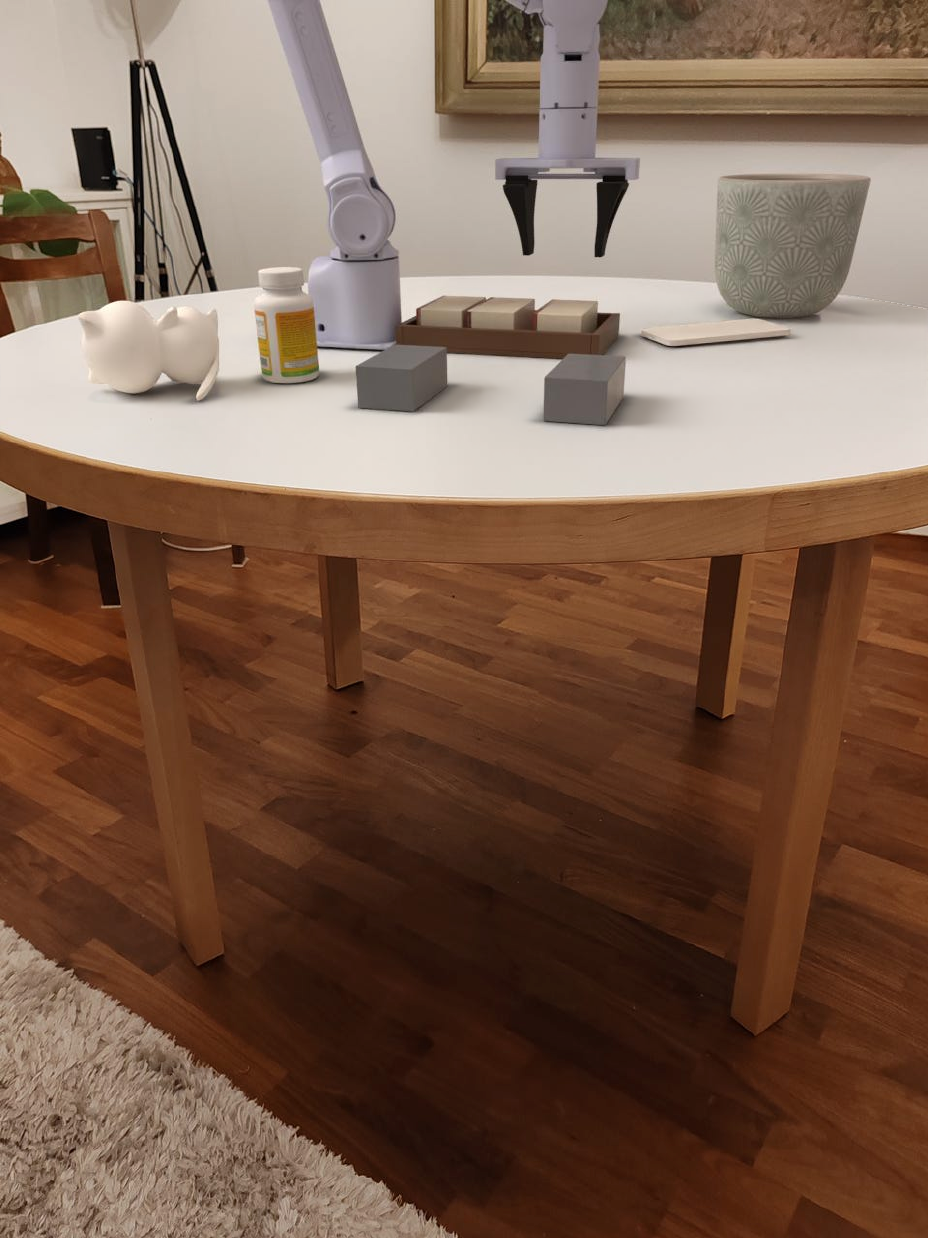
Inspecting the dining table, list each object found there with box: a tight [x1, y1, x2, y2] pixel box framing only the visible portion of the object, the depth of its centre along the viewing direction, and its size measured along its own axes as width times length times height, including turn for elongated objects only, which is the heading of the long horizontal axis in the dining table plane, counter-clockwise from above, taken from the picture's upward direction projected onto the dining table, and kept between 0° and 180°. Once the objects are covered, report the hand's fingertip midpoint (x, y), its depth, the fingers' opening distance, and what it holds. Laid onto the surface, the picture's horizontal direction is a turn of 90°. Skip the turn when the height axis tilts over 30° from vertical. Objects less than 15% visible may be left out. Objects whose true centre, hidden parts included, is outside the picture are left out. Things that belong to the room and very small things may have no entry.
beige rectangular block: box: [532, 298, 599, 333], centre depth 100 cm, size 5×9×4 cm, turn 163°
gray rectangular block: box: [355, 345, 448, 413], centre depth 82 cm, size 5×9×4 cm, turn 163°
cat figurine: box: [78, 300, 220, 401], centre depth 84 cm, size 9×11×12 cm
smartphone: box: [640, 318, 791, 347], centre depth 104 cm, size 7×1×15 cm
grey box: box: [542, 354, 627, 426], centre depth 78 cm, size 5×9×4 cm, turn 163°
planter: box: [714, 173, 872, 319], centre depth 114 cm, size 17×17×15 cm
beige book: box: [415, 295, 487, 328], centre depth 104 cm, size 5×9×4 cm, turn 163°
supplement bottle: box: [253, 266, 320, 384], centre depth 88 cm, size 5×5×10 cm
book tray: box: [396, 309, 621, 360], centre depth 102 cm, size 22×13×2 cm, turn 73°
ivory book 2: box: [467, 296, 536, 331], centre depth 102 cm, size 5×9×4 cm, turn 162°
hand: (563, 255), depth 100 cm, fingers open, 7 cm apart
